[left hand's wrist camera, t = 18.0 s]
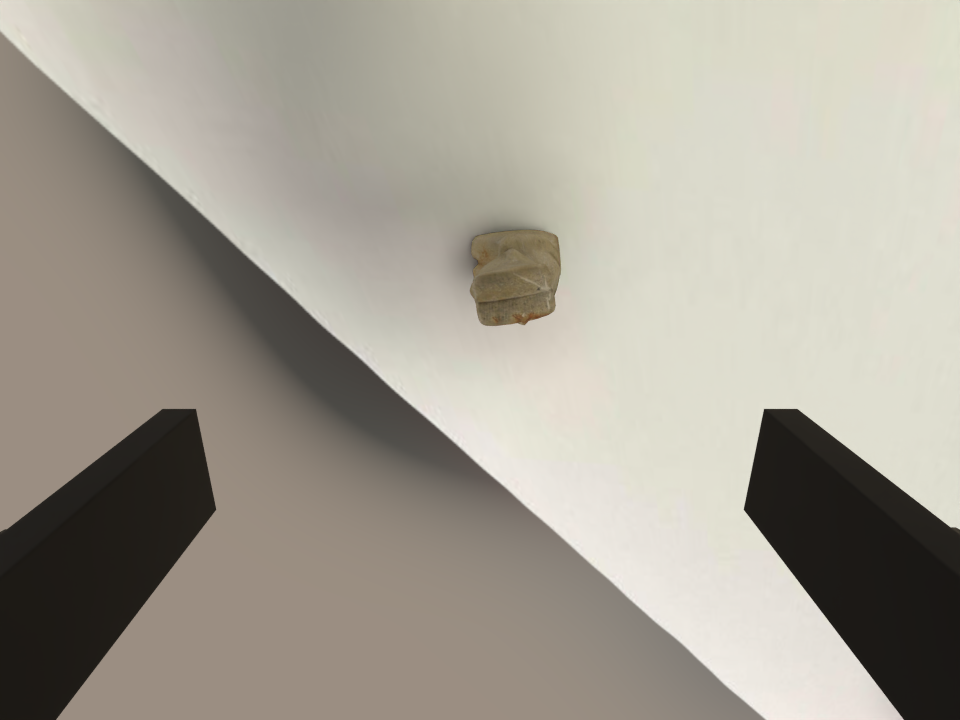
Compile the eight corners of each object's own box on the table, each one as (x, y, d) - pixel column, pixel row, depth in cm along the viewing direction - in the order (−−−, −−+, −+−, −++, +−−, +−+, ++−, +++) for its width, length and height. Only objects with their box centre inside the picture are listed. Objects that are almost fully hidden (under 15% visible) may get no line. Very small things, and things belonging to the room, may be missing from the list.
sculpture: (468, 223, 45) (463, 250, 31) (553, 216, 45) (587, 240, 31) (475, 291, 47) (472, 344, 33) (556, 284, 47) (588, 335, 33)
